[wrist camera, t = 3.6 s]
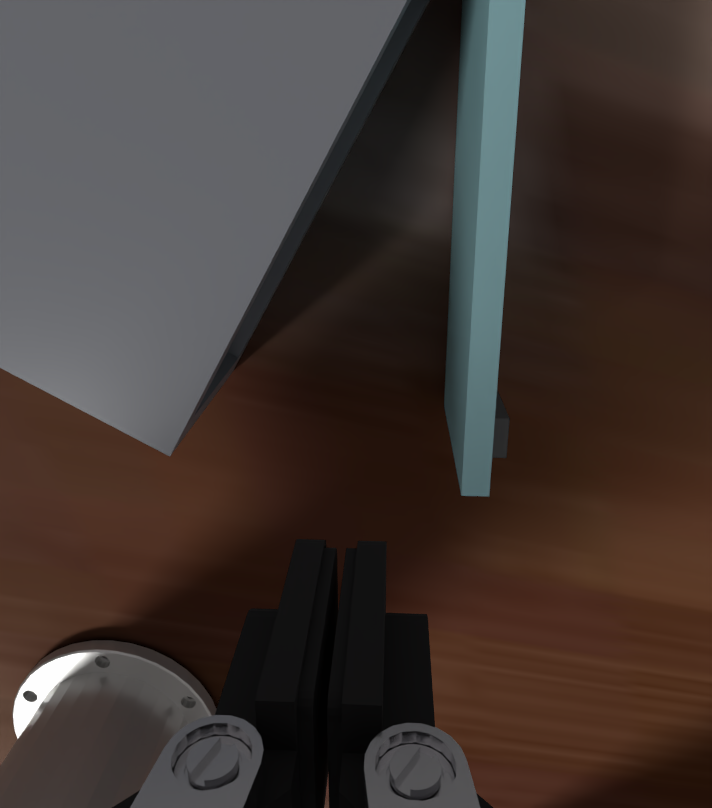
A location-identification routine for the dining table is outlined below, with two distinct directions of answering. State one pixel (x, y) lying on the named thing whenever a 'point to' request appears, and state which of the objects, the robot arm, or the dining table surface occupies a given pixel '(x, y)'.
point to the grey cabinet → (168, 184)
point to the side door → (481, 235)
